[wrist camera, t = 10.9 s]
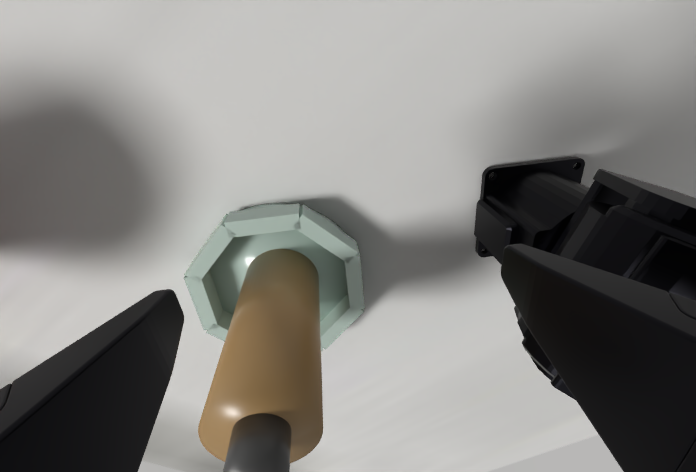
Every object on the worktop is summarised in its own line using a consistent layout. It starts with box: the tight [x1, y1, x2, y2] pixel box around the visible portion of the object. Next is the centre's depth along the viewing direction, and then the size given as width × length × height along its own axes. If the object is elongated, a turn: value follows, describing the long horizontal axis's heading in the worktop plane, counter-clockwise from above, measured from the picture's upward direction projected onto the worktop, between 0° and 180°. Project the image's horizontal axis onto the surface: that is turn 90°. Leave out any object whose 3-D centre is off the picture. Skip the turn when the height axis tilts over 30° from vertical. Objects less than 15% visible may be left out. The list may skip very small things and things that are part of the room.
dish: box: [184, 203, 365, 351], centre depth 23 cm, size 11×11×2 cm
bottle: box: [198, 249, 323, 472], centre depth 18 cm, size 5×5×13 cm
